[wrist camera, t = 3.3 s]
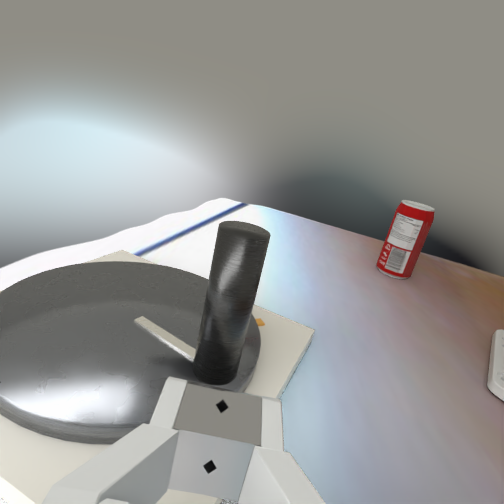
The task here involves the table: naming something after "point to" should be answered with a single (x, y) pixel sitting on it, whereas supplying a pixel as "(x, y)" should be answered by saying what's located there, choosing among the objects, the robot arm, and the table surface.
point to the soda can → (405, 239)
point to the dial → (126, 338)
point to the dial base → (76, 454)
